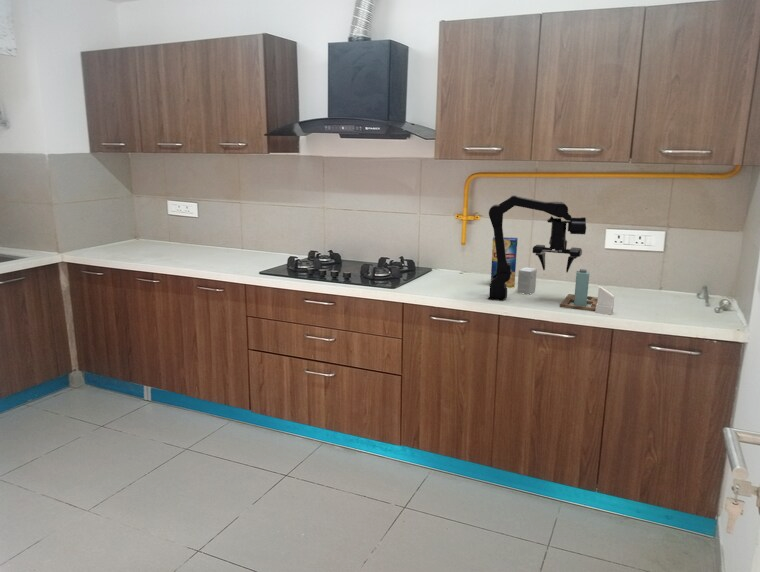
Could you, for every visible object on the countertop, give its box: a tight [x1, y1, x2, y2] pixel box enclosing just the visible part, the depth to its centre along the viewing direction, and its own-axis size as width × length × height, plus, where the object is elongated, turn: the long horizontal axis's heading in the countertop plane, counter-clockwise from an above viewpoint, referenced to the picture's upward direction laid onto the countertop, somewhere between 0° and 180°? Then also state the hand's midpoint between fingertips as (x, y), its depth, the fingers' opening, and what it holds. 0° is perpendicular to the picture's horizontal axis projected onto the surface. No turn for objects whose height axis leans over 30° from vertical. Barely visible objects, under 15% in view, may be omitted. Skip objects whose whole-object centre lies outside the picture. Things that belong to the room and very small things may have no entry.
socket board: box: [559, 293, 601, 312], centre depth 237 cm, size 14×19×2 cm
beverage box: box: [490, 236, 518, 288], centre depth 266 cm, size 7×11×22 cm, turn 76°
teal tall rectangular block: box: [573, 268, 590, 307], centre depth 232 cm, size 4×4×15 cm
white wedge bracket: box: [594, 285, 615, 316], centre depth 224 cm, size 4×10×9 cm, turn 56°
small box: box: [517, 266, 538, 295], centre depth 255 cm, size 8×6×10 cm
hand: (555, 271), depth 237 cm, fingers open, 9 cm apart
